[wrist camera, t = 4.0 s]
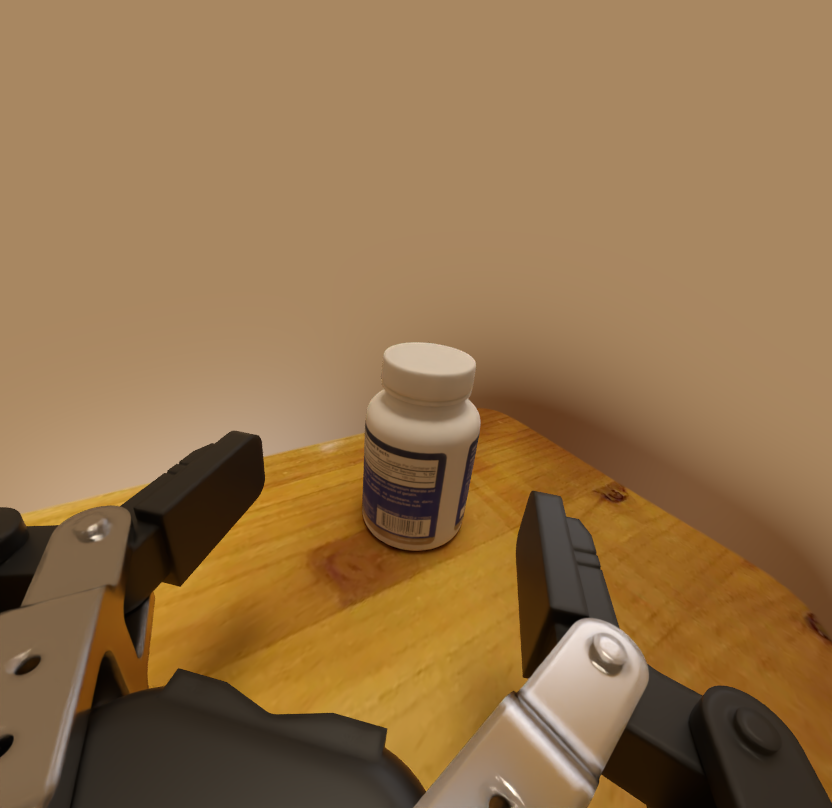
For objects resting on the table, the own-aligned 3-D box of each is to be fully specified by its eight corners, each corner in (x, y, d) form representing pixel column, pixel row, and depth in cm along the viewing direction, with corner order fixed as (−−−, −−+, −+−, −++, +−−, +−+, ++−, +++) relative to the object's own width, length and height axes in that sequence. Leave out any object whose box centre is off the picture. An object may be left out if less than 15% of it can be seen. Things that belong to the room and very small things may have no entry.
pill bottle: (418, 472, 24) (436, 332, 20) (481, 525, 20) (518, 367, 16) (342, 504, 20) (345, 345, 16) (401, 573, 17) (423, 391, 13)
